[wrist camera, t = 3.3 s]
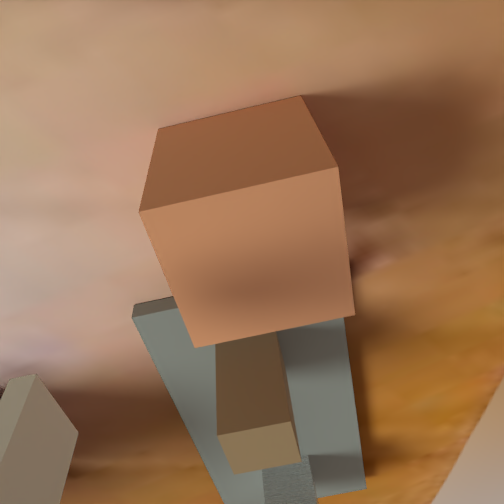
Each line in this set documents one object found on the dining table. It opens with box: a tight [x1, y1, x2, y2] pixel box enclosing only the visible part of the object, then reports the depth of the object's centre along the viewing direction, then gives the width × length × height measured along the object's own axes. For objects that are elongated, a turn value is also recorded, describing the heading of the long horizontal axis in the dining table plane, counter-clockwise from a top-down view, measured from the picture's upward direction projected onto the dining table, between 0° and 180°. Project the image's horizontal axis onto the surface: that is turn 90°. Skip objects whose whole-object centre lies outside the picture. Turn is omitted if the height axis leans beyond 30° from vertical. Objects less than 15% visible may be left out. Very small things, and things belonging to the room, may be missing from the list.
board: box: [132, 297, 367, 504], centre depth 29 cm, size 22×11×7 cm, turn 12°
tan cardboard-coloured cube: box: [139, 95, 355, 348], centre depth 19 cm, size 6×6×7 cm
